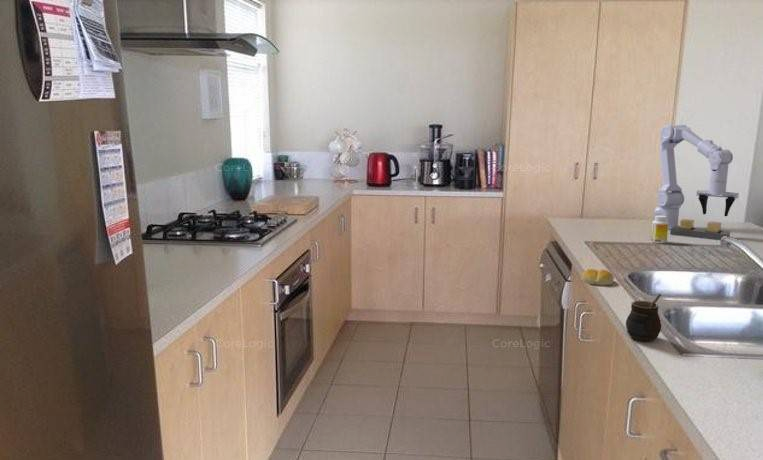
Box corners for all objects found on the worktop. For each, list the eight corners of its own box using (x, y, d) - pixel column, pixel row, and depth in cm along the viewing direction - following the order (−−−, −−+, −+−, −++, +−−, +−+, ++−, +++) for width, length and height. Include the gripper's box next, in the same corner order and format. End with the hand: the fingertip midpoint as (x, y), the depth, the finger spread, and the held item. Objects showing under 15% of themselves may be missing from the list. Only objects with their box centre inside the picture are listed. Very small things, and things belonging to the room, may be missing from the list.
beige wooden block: (679, 234, 244) (680, 220, 243) (682, 233, 247) (683, 219, 246) (690, 235, 241) (691, 221, 240) (692, 234, 244) (694, 220, 243)
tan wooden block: (706, 237, 237) (707, 223, 236) (708, 236, 240) (710, 221, 239) (717, 239, 235) (718, 224, 234) (719, 237, 238) (721, 222, 236)
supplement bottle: (670, 242, 229) (672, 216, 227) (658, 244, 227) (660, 217, 225) (658, 240, 234) (660, 214, 232) (647, 241, 232) (649, 215, 230)
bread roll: (584, 277, 184) (585, 264, 183) (615, 281, 180) (616, 268, 179) (578, 283, 177) (578, 270, 176) (609, 288, 173) (610, 274, 172)
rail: (670, 234, 245) (670, 228, 244) (676, 231, 250) (676, 225, 250) (724, 240, 231) (725, 234, 231) (729, 237, 237) (730, 231, 237)
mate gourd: (617, 335, 135) (620, 293, 134) (641, 330, 139) (644, 288, 137) (643, 346, 129) (646, 302, 127) (668, 340, 132) (671, 297, 130)
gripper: (695, 180, 235) (692, 214, 238) (737, 183, 226) (733, 218, 228) (700, 179, 240) (697, 212, 243) (741, 181, 231) (737, 215, 234)
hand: (715, 214), depth 236 cm, fingers open, 7 cm apart
